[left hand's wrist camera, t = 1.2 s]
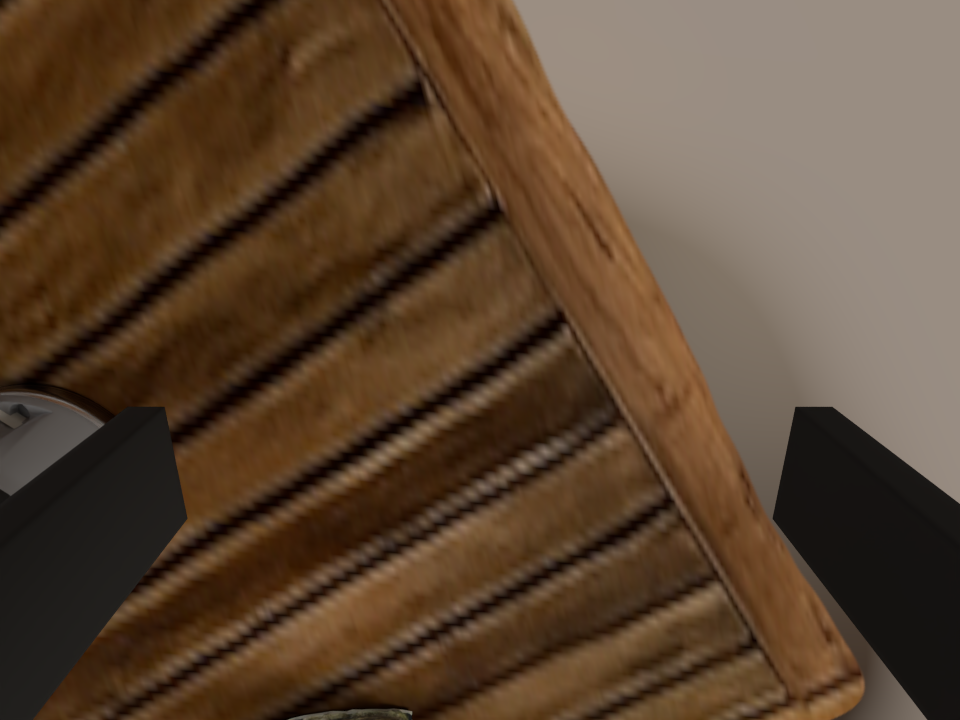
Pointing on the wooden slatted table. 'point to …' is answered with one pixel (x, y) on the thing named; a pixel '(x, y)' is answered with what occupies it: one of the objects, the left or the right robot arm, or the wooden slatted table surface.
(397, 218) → the wooden slatted table surface
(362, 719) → the fossil
